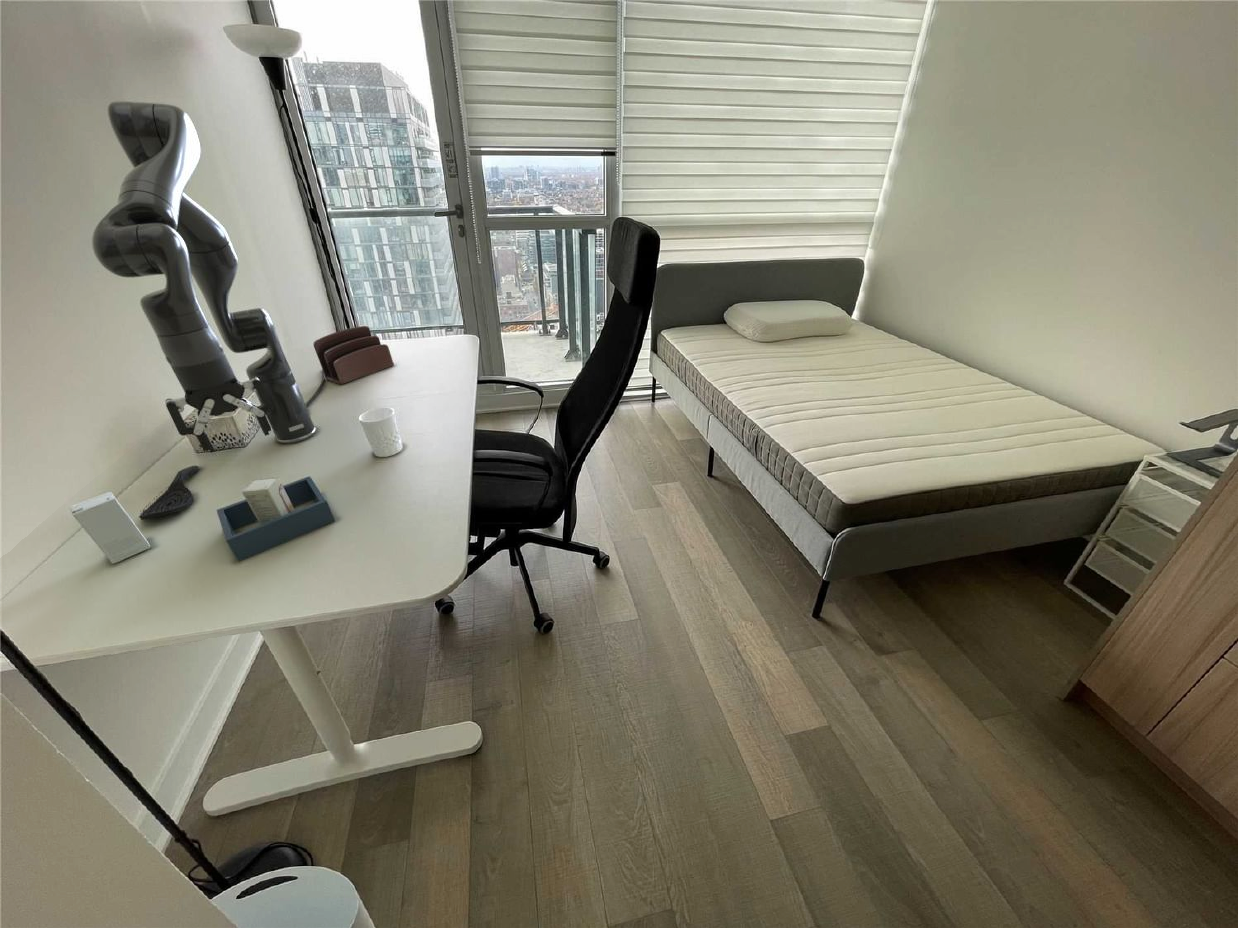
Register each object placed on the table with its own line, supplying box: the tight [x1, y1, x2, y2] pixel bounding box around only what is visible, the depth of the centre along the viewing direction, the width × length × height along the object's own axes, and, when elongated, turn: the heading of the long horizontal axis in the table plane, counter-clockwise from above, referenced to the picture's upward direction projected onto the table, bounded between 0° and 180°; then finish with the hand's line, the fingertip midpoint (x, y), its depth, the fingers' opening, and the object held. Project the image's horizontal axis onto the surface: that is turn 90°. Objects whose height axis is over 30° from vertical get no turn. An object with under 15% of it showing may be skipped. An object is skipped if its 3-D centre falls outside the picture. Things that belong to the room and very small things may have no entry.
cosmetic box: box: [69, 491, 151, 565], centre depth 95 cm, size 6×4×12 cm
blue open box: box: [216, 475, 336, 562], centre depth 102 cm, size 13×17×5 cm
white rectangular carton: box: [241, 477, 296, 525], centre depth 100 cm, size 5×4×10 cm
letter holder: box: [313, 325, 395, 386], centre depth 172 cm, size 10×20×14 cm, turn 144°
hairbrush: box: [138, 465, 200, 521], centre depth 114 cm, size 8×4×25 cm
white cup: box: [358, 406, 403, 458], centre depth 125 cm, size 8×8×10 cm
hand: (240, 442), depth 93 cm, fingers open, 8 cm apart
